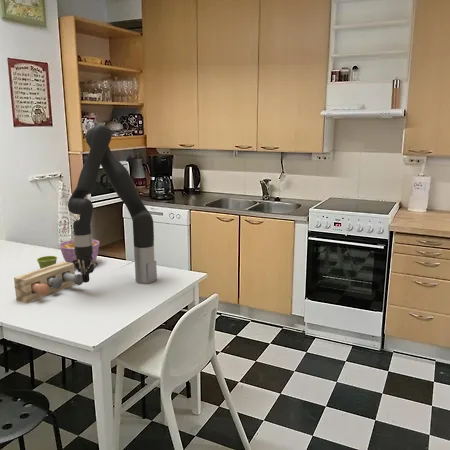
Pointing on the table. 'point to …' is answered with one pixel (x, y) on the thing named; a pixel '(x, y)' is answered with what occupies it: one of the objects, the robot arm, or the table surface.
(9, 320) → the table surface
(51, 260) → the plant pot
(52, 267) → the socket rail
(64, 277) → the grey dowel
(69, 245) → the bowl of food
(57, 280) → the grey dowel
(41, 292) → the dowel terracotta
